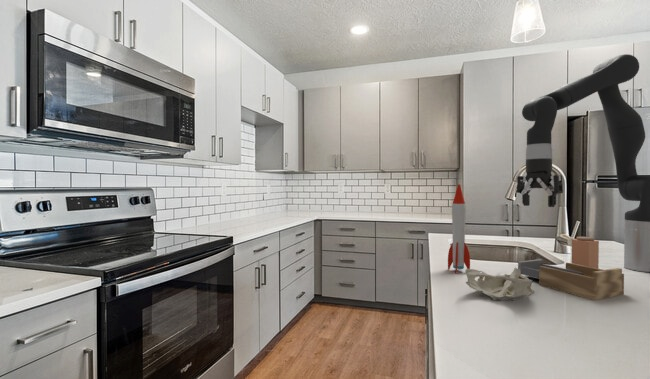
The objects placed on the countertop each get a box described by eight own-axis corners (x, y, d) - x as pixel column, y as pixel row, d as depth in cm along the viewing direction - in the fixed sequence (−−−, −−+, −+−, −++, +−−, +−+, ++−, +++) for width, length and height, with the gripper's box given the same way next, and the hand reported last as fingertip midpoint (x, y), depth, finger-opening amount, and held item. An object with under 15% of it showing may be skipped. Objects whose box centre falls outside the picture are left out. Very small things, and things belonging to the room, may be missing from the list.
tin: (581, 274, 110) (581, 236, 110) (598, 278, 106) (598, 238, 106) (571, 276, 109) (571, 236, 108) (588, 280, 104) (588, 239, 104)
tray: (539, 270, 111) (539, 259, 111) (582, 280, 99) (582, 268, 99) (517, 273, 107) (518, 261, 107) (559, 284, 95) (559, 271, 95)
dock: (567, 280, 104) (567, 257, 104) (623, 294, 90) (624, 268, 90) (539, 284, 99) (539, 261, 99) (594, 300, 86) (594, 273, 85)
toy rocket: (460, 268, 118) (461, 184, 118) (470, 272, 112) (471, 183, 112) (446, 269, 117) (447, 183, 117) (455, 273, 111) (456, 183, 111)
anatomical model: (454, 266, 86) (492, 250, 103) (454, 301, 87) (492, 280, 103) (518, 278, 75) (548, 259, 92) (517, 318, 76) (548, 291, 93)
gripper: (568, 156, 107) (567, 207, 107) (526, 160, 120) (525, 204, 121) (553, 156, 104) (552, 207, 104) (511, 159, 117) (511, 205, 118)
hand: (538, 206), depth 112 cm, fingers open, 8 cm apart
